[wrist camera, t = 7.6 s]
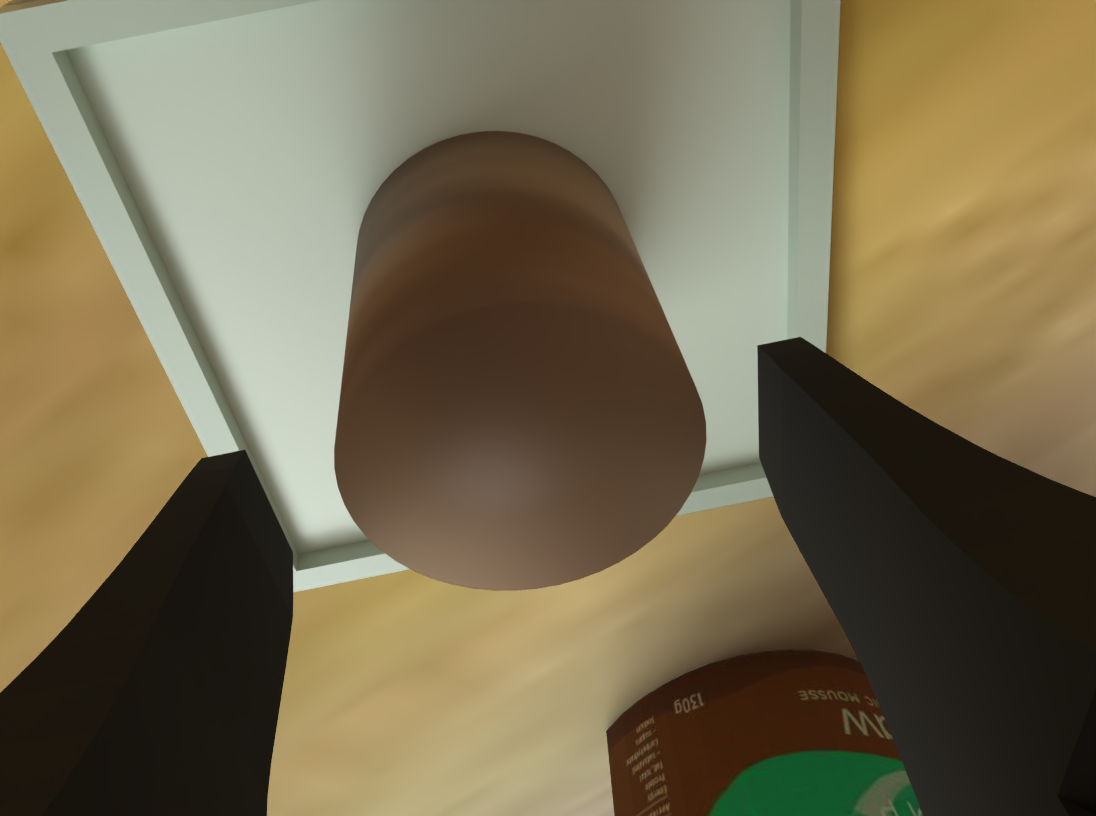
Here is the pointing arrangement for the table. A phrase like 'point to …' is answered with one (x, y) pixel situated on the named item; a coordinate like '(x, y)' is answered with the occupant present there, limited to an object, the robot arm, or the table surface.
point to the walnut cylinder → (509, 372)
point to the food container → (760, 743)
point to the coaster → (399, 133)
